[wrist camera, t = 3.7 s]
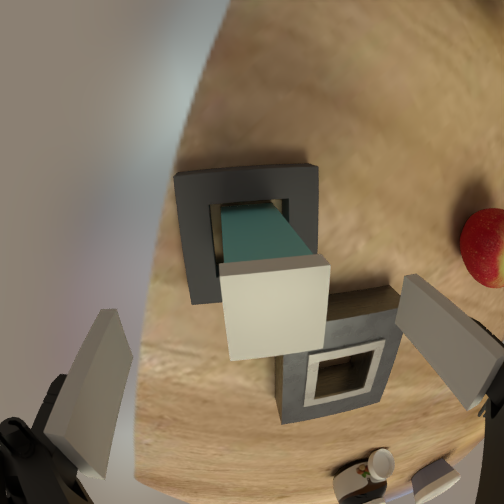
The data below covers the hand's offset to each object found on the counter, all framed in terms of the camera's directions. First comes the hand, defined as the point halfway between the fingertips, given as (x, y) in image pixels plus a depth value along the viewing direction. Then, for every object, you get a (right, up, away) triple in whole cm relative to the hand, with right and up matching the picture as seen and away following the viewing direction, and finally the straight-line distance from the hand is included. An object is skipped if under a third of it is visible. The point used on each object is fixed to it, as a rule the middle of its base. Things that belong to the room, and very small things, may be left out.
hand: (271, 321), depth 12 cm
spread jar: (+21, -40, +32) cm, 55 cm away
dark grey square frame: (-1, +5, +11) cm, 12 cm away
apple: (+24, +5, +14) cm, 29 cm away
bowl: (+56, -67, +48) cm, 99 cm away
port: (+8, -7, +17) cm, 20 cm away
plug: (-1, +5, +11) cm, 12 cm away
